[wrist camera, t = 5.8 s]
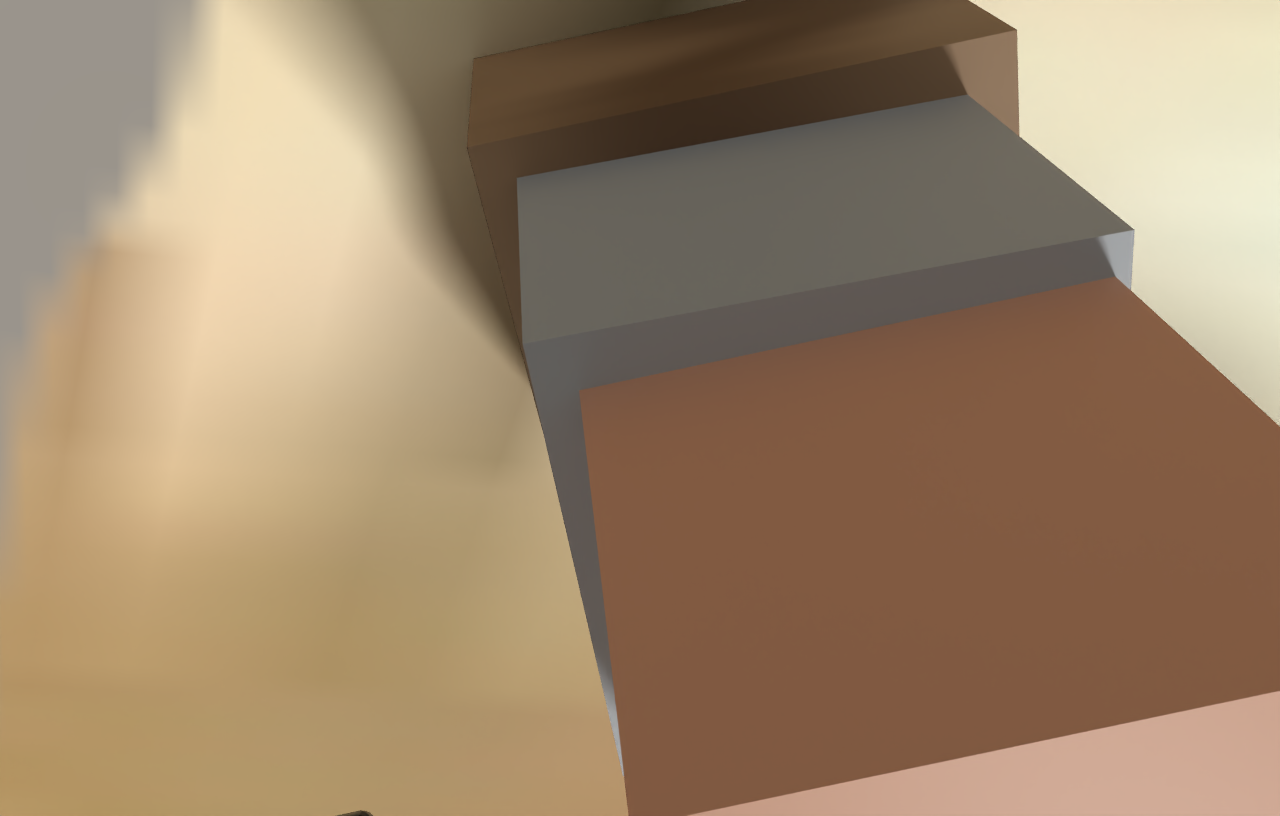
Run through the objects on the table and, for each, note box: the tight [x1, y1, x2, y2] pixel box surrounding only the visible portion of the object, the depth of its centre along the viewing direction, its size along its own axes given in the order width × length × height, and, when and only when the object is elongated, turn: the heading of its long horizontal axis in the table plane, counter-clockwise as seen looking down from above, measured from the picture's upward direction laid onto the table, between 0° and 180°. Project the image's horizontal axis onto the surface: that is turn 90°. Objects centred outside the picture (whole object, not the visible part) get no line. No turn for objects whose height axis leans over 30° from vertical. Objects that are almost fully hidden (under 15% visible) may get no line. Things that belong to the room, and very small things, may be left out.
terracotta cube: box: [579, 277, 1280, 816], centre depth 9 cm, size 4×4×4 cm
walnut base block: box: [467, 0, 1019, 430], centre depth 16 cm, size 6×6×4 cm
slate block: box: [517, 94, 1134, 776], centre depth 13 cm, size 5×5×4 cm
